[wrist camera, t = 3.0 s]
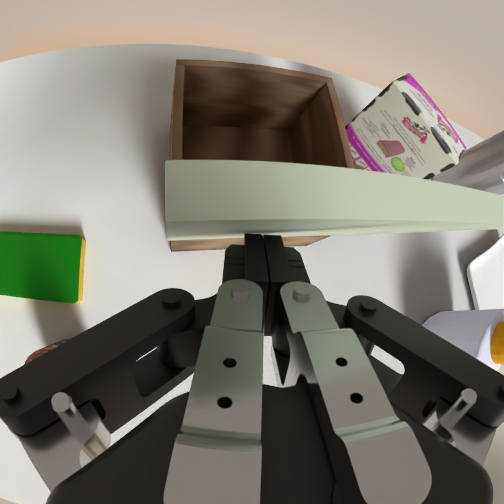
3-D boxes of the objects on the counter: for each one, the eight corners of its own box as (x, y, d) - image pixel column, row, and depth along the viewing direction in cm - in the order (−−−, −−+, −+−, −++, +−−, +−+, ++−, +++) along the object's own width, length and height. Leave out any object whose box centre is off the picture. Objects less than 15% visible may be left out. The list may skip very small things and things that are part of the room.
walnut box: (290, 130, 39) (331, 78, 27) (306, 245, 36) (364, 222, 25) (170, 124, 34) (176, 59, 23) (171, 251, 32) (172, 224, 21)
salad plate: (474, 365, 43) (487, 367, 40) (455, 266, 45) (470, 263, 41) (512, 317, 50) (522, 316, 47) (495, 233, 51) (506, 231, 48)
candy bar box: (388, 190, 42) (469, 148, 26) (371, 208, 40) (458, 167, 25) (342, 132, 41) (410, 70, 26) (322, 146, 40) (393, 80, 24)
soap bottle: (411, 382, 38) (521, 403, 19) (401, 336, 39) (522, 343, 19) (457, 341, 42) (553, 343, 23) (449, 299, 43) (550, 290, 23)
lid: (545, 207, 9) (546, 227, 9) (367, 223, 25) (368, 234, 25) (164, 160, 5) (165, 221, 5) (166, 226, 20) (167, 240, 21)
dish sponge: (-6, 234, 26) (-15, 230, 24) (87, 239, 30) (81, 235, 28) (-11, 292, 25) (-21, 291, 23) (83, 303, 29) (76, 303, 27)
